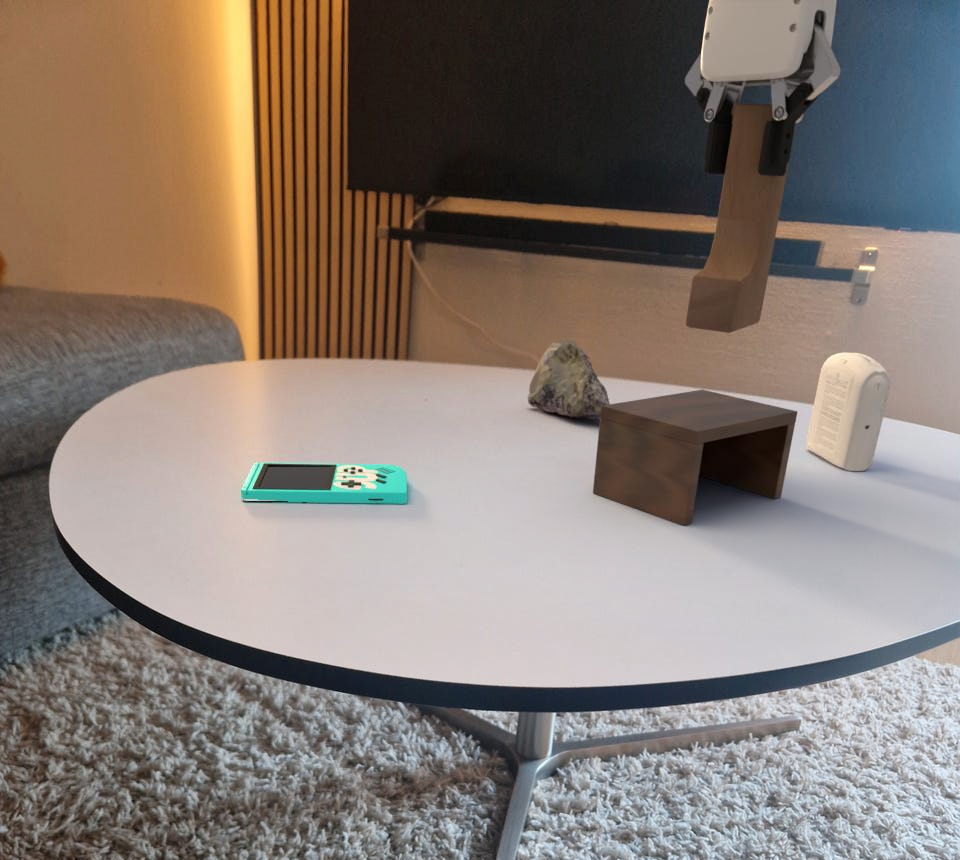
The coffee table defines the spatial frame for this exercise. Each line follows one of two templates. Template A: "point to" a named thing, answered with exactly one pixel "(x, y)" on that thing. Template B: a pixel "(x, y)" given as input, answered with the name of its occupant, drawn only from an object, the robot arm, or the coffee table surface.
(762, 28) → the robot arm
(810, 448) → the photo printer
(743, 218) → the wooden block
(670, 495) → the shelf
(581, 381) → the mineral rock
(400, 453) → the coffee table surface
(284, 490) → the handheld game console
